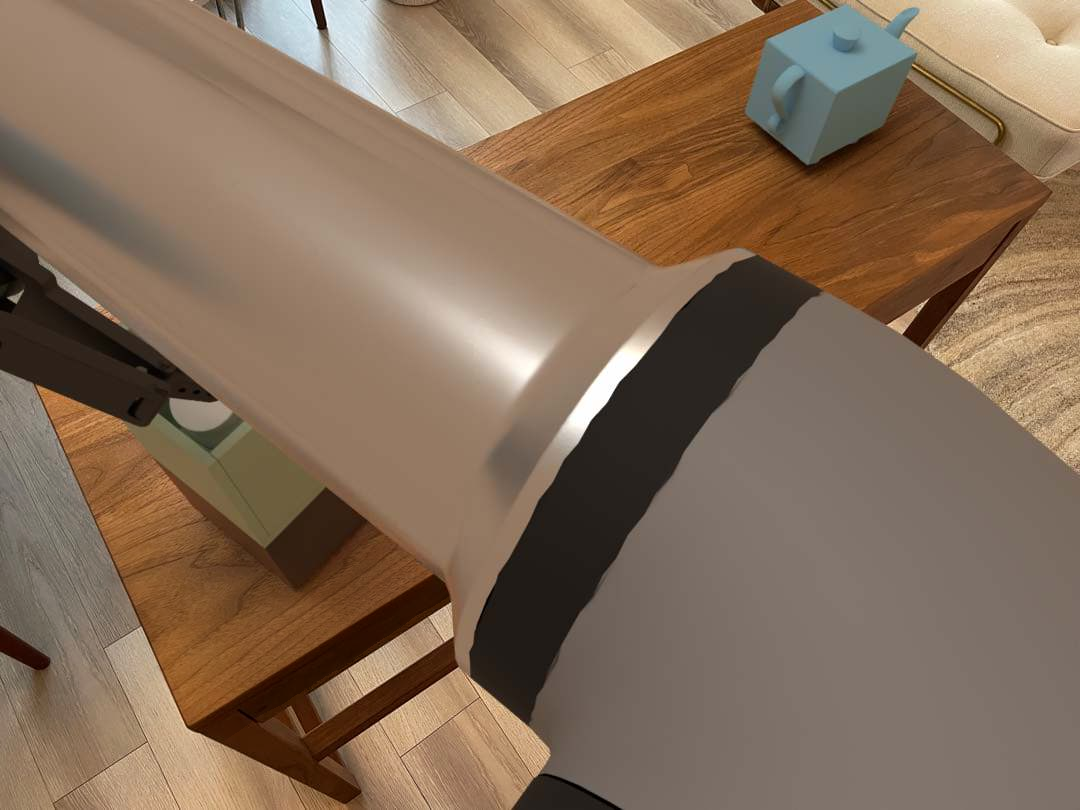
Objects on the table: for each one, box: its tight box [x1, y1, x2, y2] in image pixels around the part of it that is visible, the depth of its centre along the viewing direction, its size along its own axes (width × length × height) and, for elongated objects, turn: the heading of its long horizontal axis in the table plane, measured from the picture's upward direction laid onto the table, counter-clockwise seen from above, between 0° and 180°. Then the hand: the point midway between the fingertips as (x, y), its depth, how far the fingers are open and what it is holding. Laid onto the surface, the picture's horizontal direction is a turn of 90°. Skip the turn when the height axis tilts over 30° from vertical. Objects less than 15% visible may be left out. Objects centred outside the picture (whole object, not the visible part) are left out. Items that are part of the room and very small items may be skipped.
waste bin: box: [119, 322, 366, 593], centre depth 62 cm, size 13×13×23 cm
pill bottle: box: [170, 398, 244, 450], centre depth 57 cm, size 6×6×10 cm
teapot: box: [744, 4, 921, 166], centre depth 95 cm, size 22×11×14 cm, turn 125°
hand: (240, 305), depth 51 cm, fingers open, 12 cm apart
